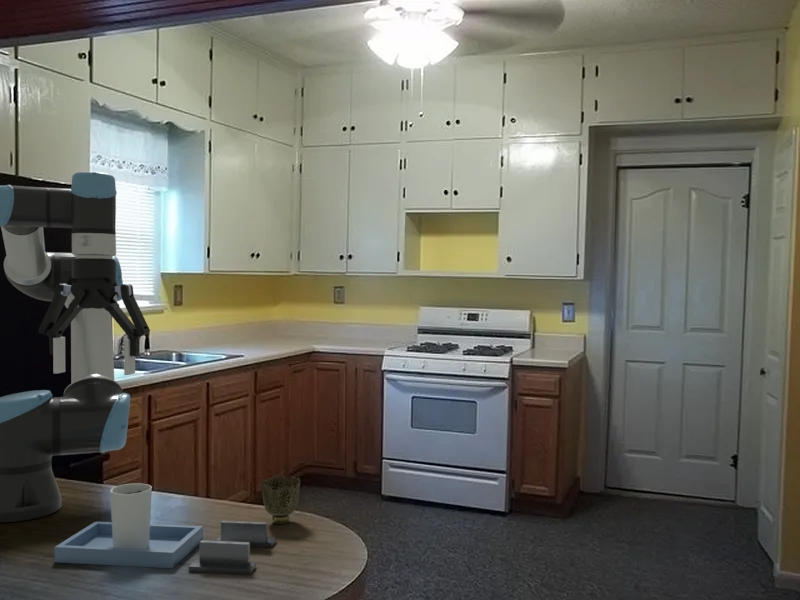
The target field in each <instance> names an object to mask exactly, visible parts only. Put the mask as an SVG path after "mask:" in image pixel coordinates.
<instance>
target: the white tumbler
mask: <svg viewBox="0 0 800 600" xmlns="http://www.w3.org/2000/svg"><path fill="white" fill-rule="evenodd" d="M152 488H153V487H152V485H150V484H146V483H140V482H139V483H126V484H120V485H117V486H114V487H112V488H111V489H110V490H109V493H110V512H111V513H110V514H111V522H112V537H113V548H134V549H147V548H148V547H149V538H150V524H151V516H152V513H151V511H152V492H153V491H152V490H153V489H152Z"/></svg>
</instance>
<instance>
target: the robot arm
mask: <svg viewBox="0 0 800 600" xmlns="http://www.w3.org/2000/svg"><path fill="white" fill-rule="evenodd" d="M116 185H117V184H116V178H115V176H113V175H112V174H110V173H106V172H98V171H77V172H75V173H74V174H73V175H72V177H71V187H70V188H60V187H38V186H37V187H36V186H23V185H11V184H6V185H0V229H1V233H2V239H3V244H4V249H5V255H6V256H5V257H4V261H3V270H4V273H5V277H6V278H7V280H8V281H9V282H10V284H12V286H13V287H15V288H16V289H17V290H18V291H19V292H22V293H23V294H25V295H26V296H29V297H31V298H34V299H36V300H40V301H45V302H50V304H49V306H48V309H47V310H46V313H45V314H44V317H43V319H42V320H41V321H42V322H41V323H40V325H39V328H38V333H39V334H41V335H45V336H47V337H48V345H49V346H48V349H49V350H48V353H49V355H50V356H51V355H52V356H53V358H52V359H53V363H52V364H53V368H52V369H53V370H52V371H53V374H62V373H65V372H66V336H63V333H64V332H65V331H66V329H67V328H68V327H69V326H70V345H71V346H70V356H71V357H70V359H71V361H70V362H71V363H70V366H71V367H70V373H71V374H70V375H71V378H70V379H71V380H70V381H71V383H70V384H69V385H67V387H66V388H65V389H64V390H63V391H64V392H63V396H60V397H59V396H57V397H56V396H54V397H53V394H52V391H51V390H49V389H48V390H47V389H40V390H39V389H38V390H37V389H36V390H28V391H27V390H26V391H22V392H17V393H16V392H15V393H11V394H7V395H3V396H0V523H13V522H22V521H28V520H29V521H30V520H34V519H38V518H42V517H46V516H49V515H51V514H53V513H56V512H58V510H60V509H61V508H62V494H61V492H60V489H59V486H58V483H57V480H56V478H55V475H54V472H53V469H52V468H53V467H52V458H53V457H54V456H68V455H79V454H81V455H82V454H92V453H101V454H103V453H105V452H113V451H120V450H121V449H123V448H124V447H125V446H126V443H127V437H128V435H127V434H128V428H129V418H130V405H131V394H129V393H126V392H124V391H123V388H122V385H121V384H120V383H119V382H117V381H116V380H115V363H114V347H113V344H114V343H113V328H112V327H113V325H112V318H113V320H114V321H115V322H116V323H117V324H118V326H119V327H120V328H121V329H122V331H123V332H124V334H126V335H127V338H124V341H123V347H124V348H123V349H124V351H123V352H124V353H123V354H124V355H123V356H124V357H123V360H124V363H123V365H124V368H123V370H124V371H123V375H124V376H129V375H134V374H136V357H137V356H139V355H140V347H141V346H140V342H141V341H140V340H141V338H142V337H143V336H146V335H150V333H151V329H150V328H149V325H148V323H147V321H146V319H145V317H144V315H143V313H142V311H141V308H140V306H139V304H138V302H137V300H136V298H135V295H134V287H133V285H132V284H129V283H128V284H127V283H123V282H124V281H123V275H122V268H121V267H122V266H121V263H120V261H119V259H118V257H117V256H116V255H117V242H116V241H117V236H116V232H117V231H116V223H117V222H116V219H117V216H116V215H117V193H118V192H117V190H116V187H117V186H116ZM44 228H61V229H71V252H56V251H55V252H54V251H53V252H51V251H49V252H48V251H46V245H45V244H46V243H45V236H44V235H45V234H44ZM121 301H122V303H123V305H124V306H125V309H126V311H127V313H128V315H127V314H126V313H125V312H124V311H123V309H122V308H121V307H120V304H119V303H118V302H121ZM64 306H65V308H66V310H64V312H63V313H62V314H61V312H62V310H63V309H64ZM60 314H61V316H60ZM128 316H129V317H130V318H129V317H128ZM130 319H131V320H130Z"/></svg>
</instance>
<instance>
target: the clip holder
mask: <svg viewBox="0 0 800 600" xmlns="http://www.w3.org/2000/svg"><path fill="white" fill-rule="evenodd" d="M276 542H277V537H276V536H268V522H264V521H243V520H242V521H241V520H240V521H239V520H222V521H221V522H220V535H219V536H218V537H217V538H216V539H215V540H204V539H203V540H201V541H200V542H199V544H198V545H199V546H198V547H199V556H198V558H199V559H195V560H194V561H192V563H191V564H190V565H189V566H188V572H192V573H210V574H211V573H212V574H229V575H231V574H232V575H249V576H250V575H251V574H252V573H253V572H254V570H255V569H256V568H257V562H256V561H251V547H253V548H256V547H257V548H273V546H275V544H276Z"/></svg>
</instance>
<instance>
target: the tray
mask: <svg viewBox="0 0 800 600" xmlns="http://www.w3.org/2000/svg"><path fill="white" fill-rule="evenodd" d="M201 540H204V526H202V525H185V524H184V525H181V524H180V525H179V524H164V523H163V524H159V523H158V524H157V523H150V538H149V547H148V548H147V549H134V548H113V537H112V521H111V522H110V521H94V522H92V523H91V524H89V525H87V526H86V527H85V528H82V529H80V530H79V531H78V532H76V533H75V534H73V535H71V536H70V537H68V538H67V539H64V541H62V542H60V543H58V544H57V545H56V546H54V563H62V564H64V563H65V564H82V565H98V566H99V565H100V566H101V565H103V566H121V567H122V566H123V567H124V566H125V567H140V568H141V567H142V568H159V569H161V568H162V569H174V568H175V567H176V566H177V565H178V564H179V563H180V562H182V560H183V559H185V558H186V557H187V556H188V555H189V554H190V553H191V552H192V551H194V550H195V548H196V547H198V545H199V542H200V541H201Z"/></svg>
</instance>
